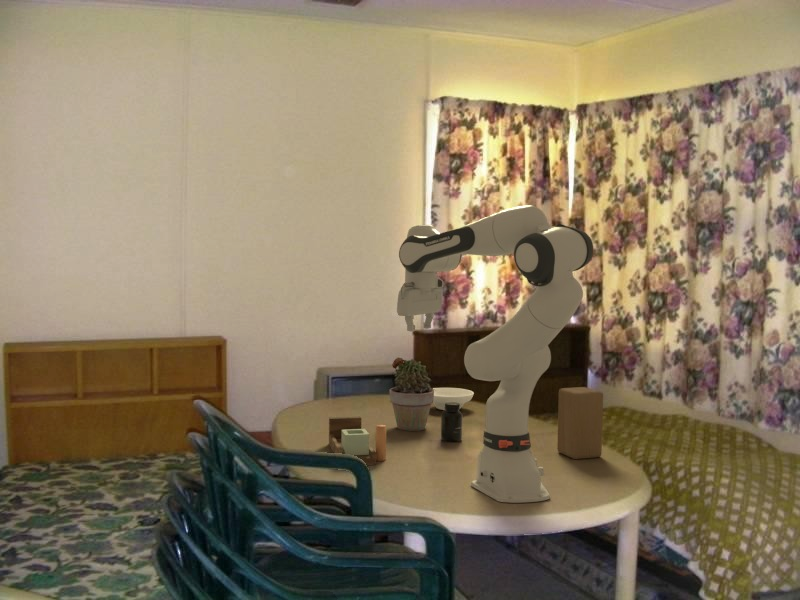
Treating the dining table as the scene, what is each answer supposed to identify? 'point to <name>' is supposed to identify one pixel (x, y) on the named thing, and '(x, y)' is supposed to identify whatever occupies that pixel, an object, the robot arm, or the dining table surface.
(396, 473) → the dining table surface
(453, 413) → the supplement bottle
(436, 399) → the bowl
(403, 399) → the potted plant
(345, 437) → the socket block
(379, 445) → the dowel
